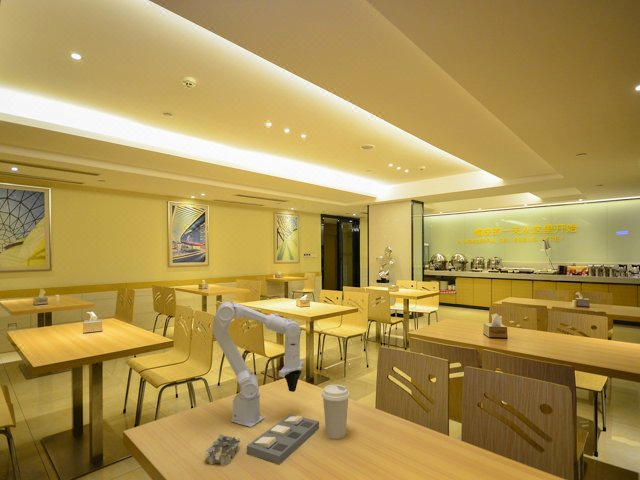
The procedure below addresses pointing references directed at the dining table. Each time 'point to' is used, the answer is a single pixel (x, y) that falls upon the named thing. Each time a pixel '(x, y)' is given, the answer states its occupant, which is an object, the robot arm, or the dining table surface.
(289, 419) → the labelled cream tile
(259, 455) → the grey rocker switch panel
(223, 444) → the egg carton
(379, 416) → the dining table surface
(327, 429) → the coffee cup
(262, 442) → the rocker carton end
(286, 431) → the rocker middle
